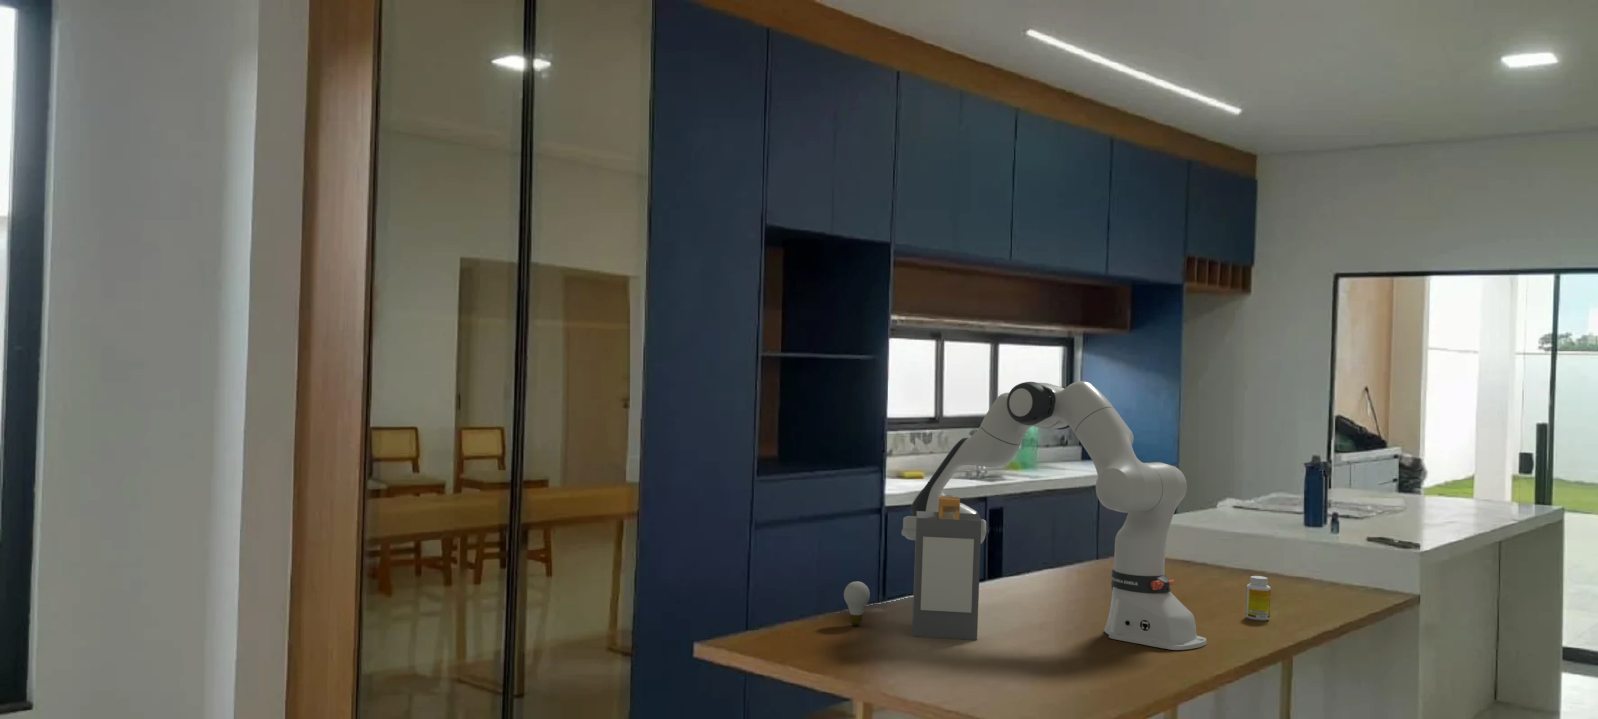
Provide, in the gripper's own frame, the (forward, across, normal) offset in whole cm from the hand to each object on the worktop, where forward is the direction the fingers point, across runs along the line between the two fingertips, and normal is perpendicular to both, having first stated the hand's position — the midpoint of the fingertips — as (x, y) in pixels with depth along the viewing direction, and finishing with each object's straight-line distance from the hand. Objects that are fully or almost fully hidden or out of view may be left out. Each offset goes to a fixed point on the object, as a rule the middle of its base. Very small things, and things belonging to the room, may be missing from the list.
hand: (945, 516), depth 287 cm
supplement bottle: (-26, +78, +13) cm, 83 cm away
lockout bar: (+13, 0, +5) cm, 14 cm away
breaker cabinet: (+4, 0, +30) cm, 30 cm away
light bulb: (+3, -20, +29) cm, 35 cm away
